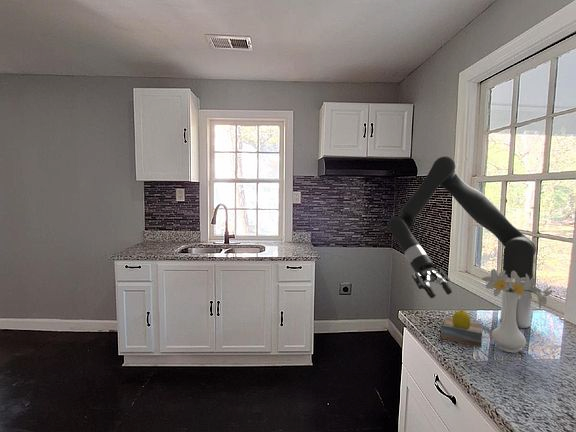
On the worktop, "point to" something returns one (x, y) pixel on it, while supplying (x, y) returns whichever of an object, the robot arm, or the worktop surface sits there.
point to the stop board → (462, 333)
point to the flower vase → (512, 307)
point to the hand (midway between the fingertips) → (441, 295)
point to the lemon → (461, 320)
